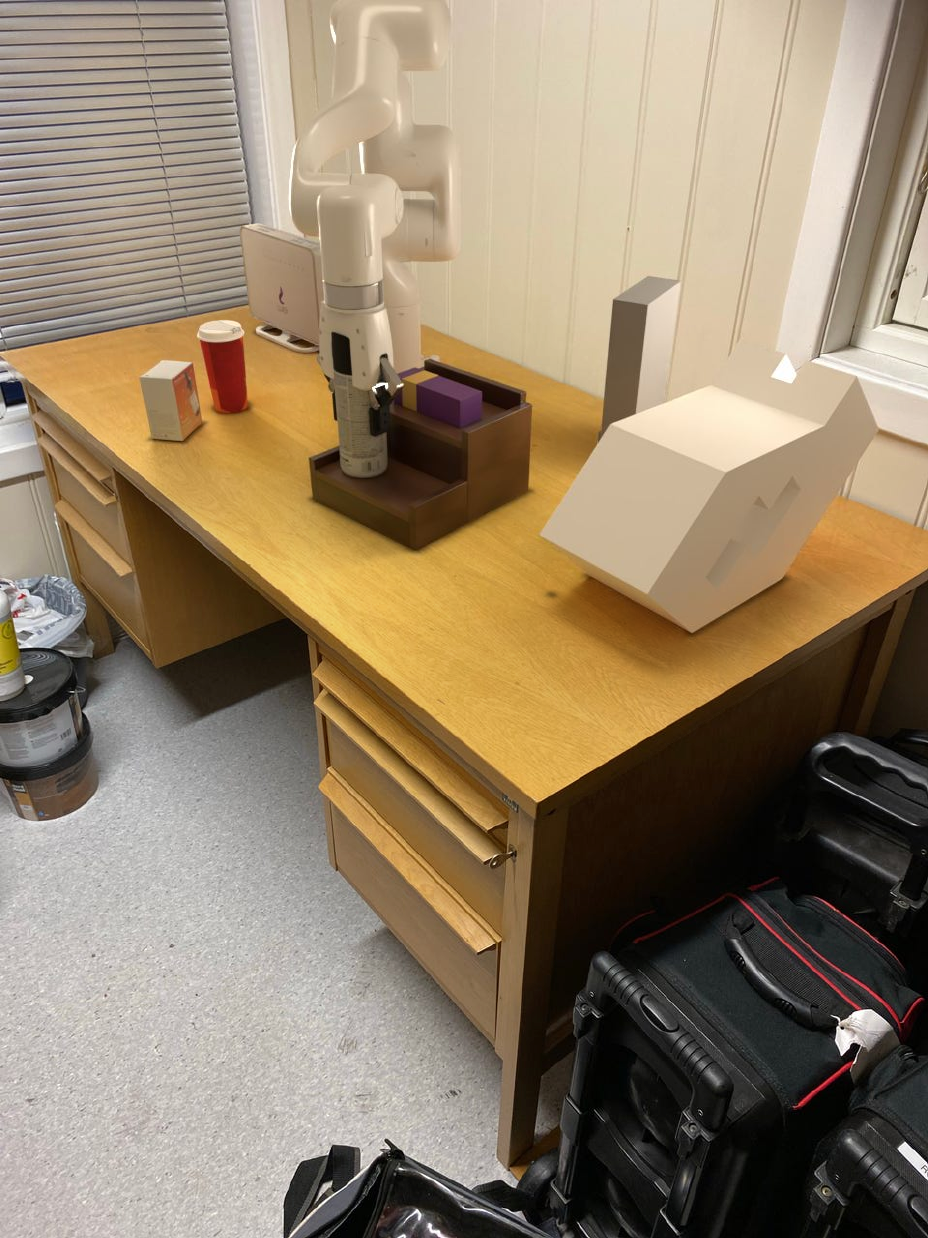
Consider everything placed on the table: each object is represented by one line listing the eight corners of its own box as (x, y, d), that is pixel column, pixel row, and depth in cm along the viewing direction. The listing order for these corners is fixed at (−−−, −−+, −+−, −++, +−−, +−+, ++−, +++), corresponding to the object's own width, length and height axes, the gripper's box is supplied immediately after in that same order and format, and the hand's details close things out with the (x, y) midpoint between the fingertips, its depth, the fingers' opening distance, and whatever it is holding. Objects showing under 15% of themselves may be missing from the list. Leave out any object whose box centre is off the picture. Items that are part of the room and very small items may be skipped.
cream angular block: (647, 594, 101) (830, 311, 100) (539, 534, 111) (704, 277, 110) (726, 663, 121) (879, 429, 120) (629, 608, 131) (769, 392, 130)
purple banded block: (415, 393, 139) (415, 366, 137) (482, 419, 132) (482, 390, 130) (393, 402, 136) (392, 374, 134) (459, 428, 129) (460, 400, 127)
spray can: (395, 462, 137) (389, 322, 125) (376, 482, 131) (368, 339, 120) (353, 455, 138) (343, 317, 127) (332, 475, 133) (320, 333, 122)
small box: (183, 442, 154) (171, 379, 148) (150, 439, 154) (138, 376, 148) (203, 422, 160) (193, 361, 154) (172, 419, 161) (161, 358, 155)
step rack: (425, 448, 152) (423, 356, 143) (528, 491, 140) (533, 393, 132) (312, 498, 138) (302, 400, 130) (415, 550, 126) (412, 446, 118)
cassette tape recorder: (626, 429, 158) (643, 274, 144) (661, 437, 156) (682, 280, 141) (592, 461, 148) (606, 298, 134) (629, 470, 146) (648, 305, 131)
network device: (241, 327, 200) (228, 226, 188) (277, 318, 205) (266, 219, 193) (313, 359, 185) (303, 251, 173) (349, 348, 189) (342, 243, 178)
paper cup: (262, 402, 167) (252, 322, 159) (236, 418, 161) (224, 336, 153) (225, 395, 170) (214, 316, 162) (198, 410, 164) (185, 329, 156)
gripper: (287, 285, 123) (300, 416, 134) (378, 315, 114) (385, 453, 124) (331, 273, 128) (341, 400, 138) (423, 301, 118) (426, 435, 129)
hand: (362, 424), depth 131 cm, fingers closed on spray can, 6 cm apart
